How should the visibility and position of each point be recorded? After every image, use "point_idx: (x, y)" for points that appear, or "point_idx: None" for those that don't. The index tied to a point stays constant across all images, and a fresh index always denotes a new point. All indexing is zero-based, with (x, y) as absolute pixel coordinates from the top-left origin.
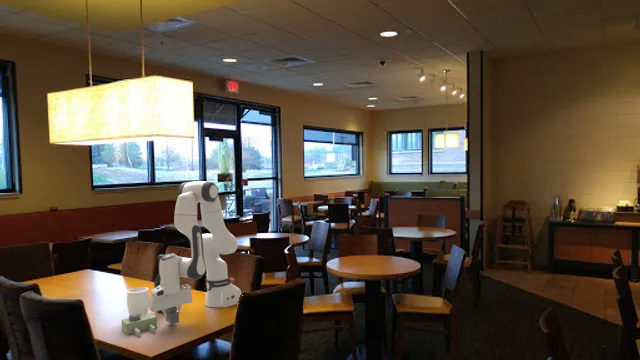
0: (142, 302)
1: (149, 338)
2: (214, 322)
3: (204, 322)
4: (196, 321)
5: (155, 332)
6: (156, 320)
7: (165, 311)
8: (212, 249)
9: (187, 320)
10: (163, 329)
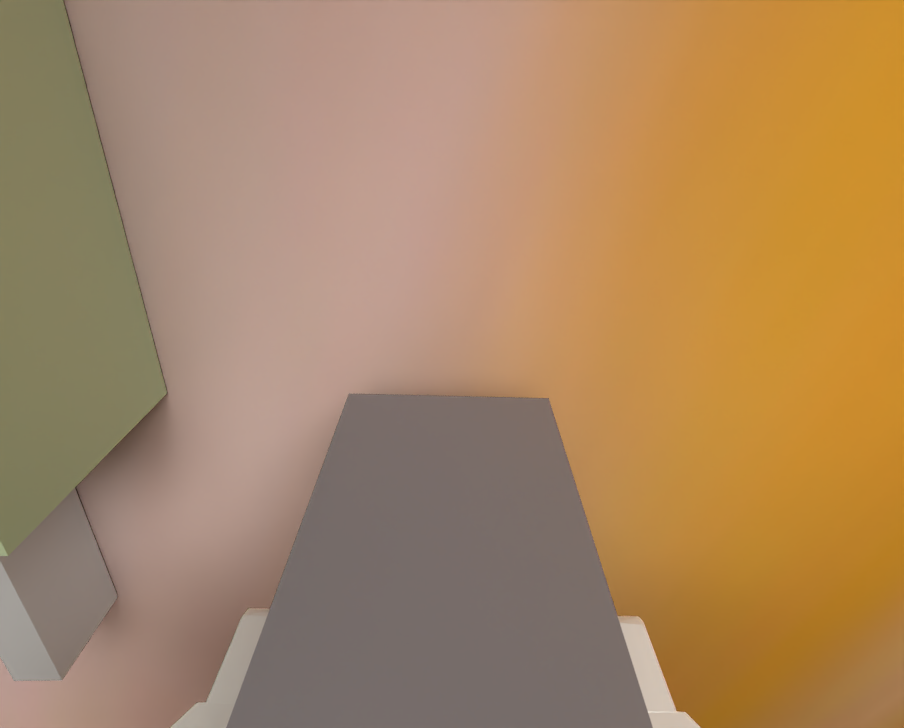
0: None
1: (30, 697)
2: (898, 713)
3: (832, 653)
4: (802, 564)
5: (114, 601)
6: (69, 480)
7: (280, 586)
8: None
9: (752, 435)
10: (254, 550)
